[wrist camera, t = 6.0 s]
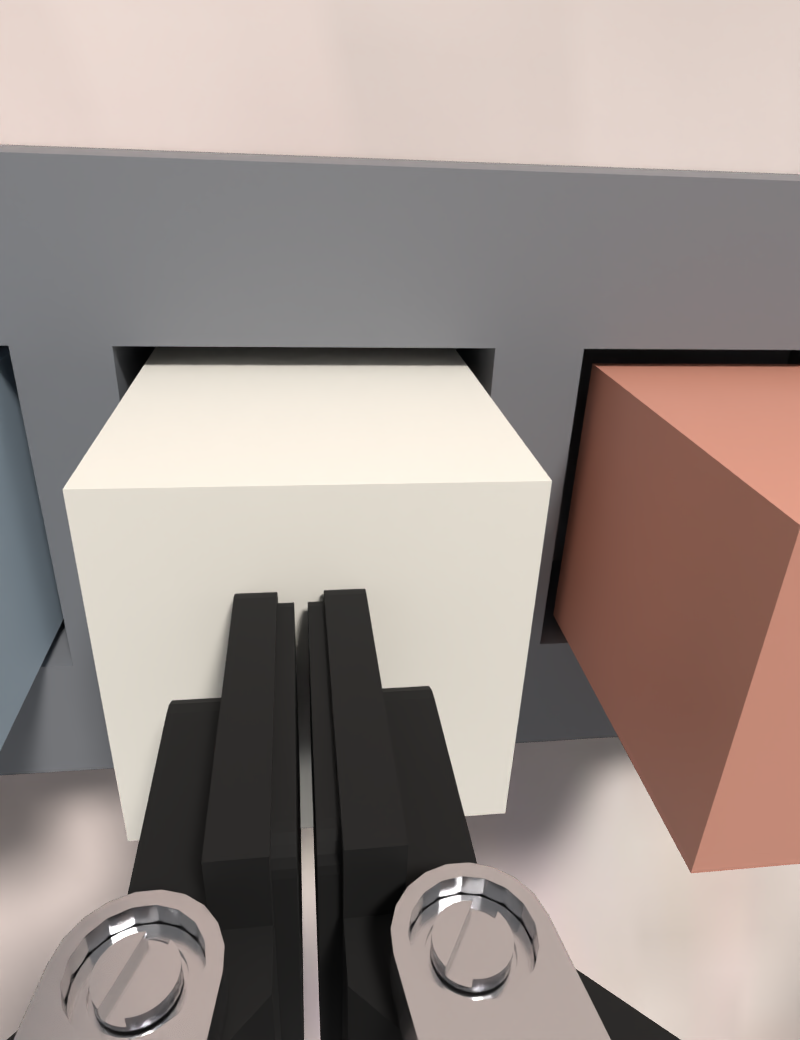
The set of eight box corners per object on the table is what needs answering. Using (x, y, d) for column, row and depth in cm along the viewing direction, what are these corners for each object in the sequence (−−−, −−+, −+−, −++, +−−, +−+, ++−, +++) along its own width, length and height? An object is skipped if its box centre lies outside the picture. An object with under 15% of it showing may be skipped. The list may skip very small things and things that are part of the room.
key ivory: (451, 345, 15) (551, 480, 9) (435, 587, 17) (505, 812, 12) (158, 343, 14) (62, 489, 8) (186, 595, 17) (127, 841, 11)
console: (899, 178, 16) (1063, 190, 13) (759, 627, 22) (849, 722, 18) (-438, 128, 13) (-705, 127, 10) (-211, 670, 19) (-329, 795, 15)
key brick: (868, 364, 15) (1239, 514, 9) (789, 605, 17) (1037, 843, 11) (592, 363, 14) (800, 526, 8) (553, 614, 16) (691, 873, 11)
